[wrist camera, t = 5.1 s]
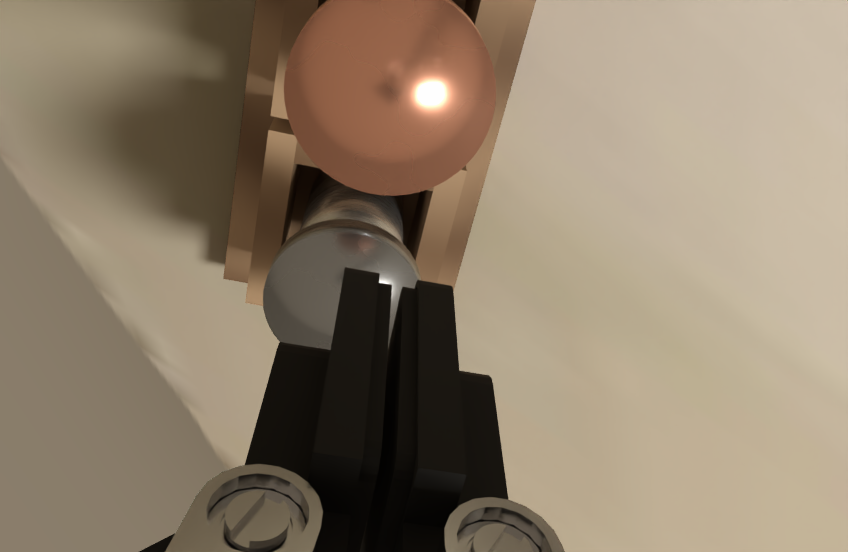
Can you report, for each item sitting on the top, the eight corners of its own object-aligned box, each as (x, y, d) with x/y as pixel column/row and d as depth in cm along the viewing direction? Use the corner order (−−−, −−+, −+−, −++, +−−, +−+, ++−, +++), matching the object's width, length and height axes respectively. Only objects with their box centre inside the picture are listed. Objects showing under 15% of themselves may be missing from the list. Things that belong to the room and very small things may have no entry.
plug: (304, 133, 29) (273, 218, 22) (429, 159, 30) (438, 249, 23) (286, 246, 31) (253, 355, 24) (403, 268, 32) (404, 381, 25)
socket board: (314, -461, 22) (293, -545, 18) (630, -363, 24) (686, -417, 19) (229, 265, 34) (202, 328, 29) (444, 305, 35) (450, 370, 31)
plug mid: (330, -69, 23) (300, -40, 16) (486, -31, 24) (522, 13, 17) (306, 88, 26) (271, 173, 19) (448, 119, 26) (466, 213, 19)
